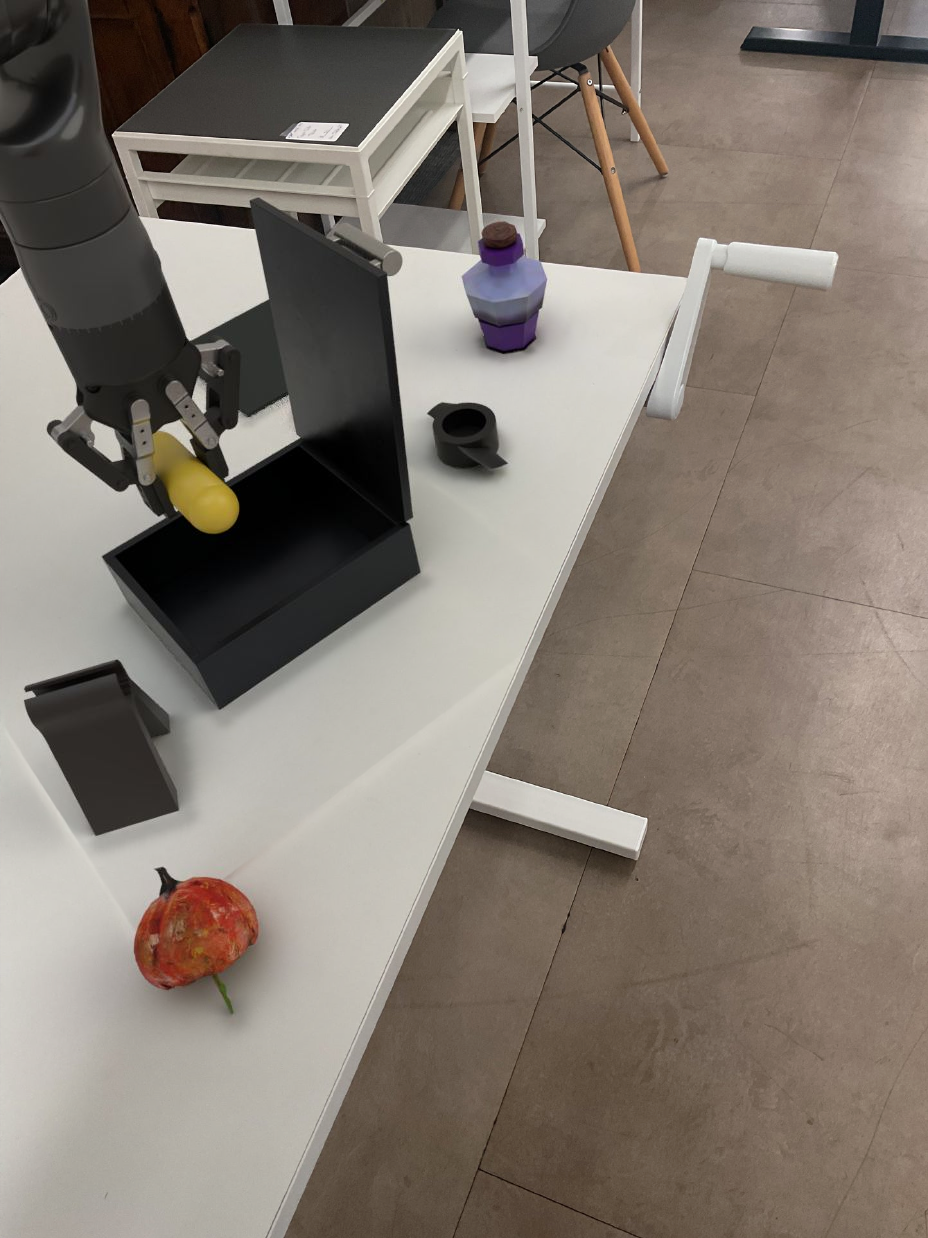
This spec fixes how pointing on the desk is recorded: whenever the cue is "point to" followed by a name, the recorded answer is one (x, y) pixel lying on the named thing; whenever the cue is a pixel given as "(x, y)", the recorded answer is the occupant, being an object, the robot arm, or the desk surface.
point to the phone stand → (105, 744)
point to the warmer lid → (338, 347)
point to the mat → (253, 357)
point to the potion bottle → (505, 289)
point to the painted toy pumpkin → (193, 932)
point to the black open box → (265, 571)
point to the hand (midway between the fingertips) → (191, 496)
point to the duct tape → (466, 435)
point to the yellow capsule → (193, 486)
